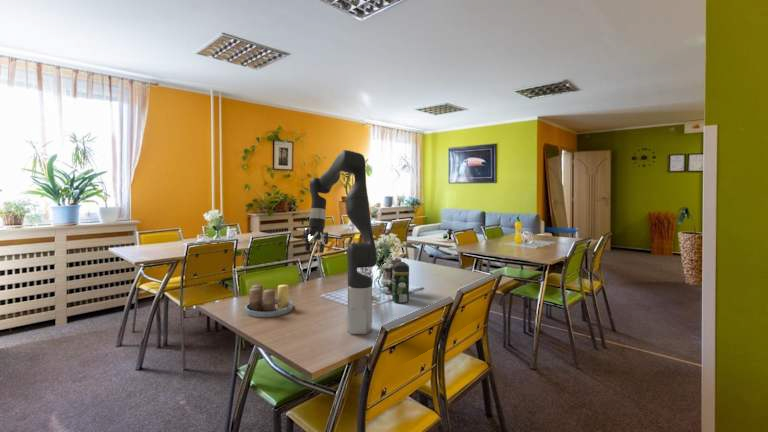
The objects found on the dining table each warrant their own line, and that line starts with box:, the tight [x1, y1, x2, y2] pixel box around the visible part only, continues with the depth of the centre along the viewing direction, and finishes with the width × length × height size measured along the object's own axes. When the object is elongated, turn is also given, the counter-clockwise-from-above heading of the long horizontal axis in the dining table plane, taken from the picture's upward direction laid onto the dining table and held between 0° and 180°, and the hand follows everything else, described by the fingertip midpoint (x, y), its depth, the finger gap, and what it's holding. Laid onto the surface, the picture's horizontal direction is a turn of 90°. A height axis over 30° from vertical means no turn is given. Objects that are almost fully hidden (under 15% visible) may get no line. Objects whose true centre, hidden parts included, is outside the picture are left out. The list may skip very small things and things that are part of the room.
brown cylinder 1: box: [248, 287, 262, 312], centre depth 158 cm, size 5×5×10 cm
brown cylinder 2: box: [263, 288, 276, 312], centre depth 156 cm, size 5×5×10 cm
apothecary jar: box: [380, 257, 403, 295], centre depth 191 cm, size 12×12×18 cm
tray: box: [244, 297, 294, 318], centre depth 162 cm, size 20×20×2 cm
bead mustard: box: [277, 284, 290, 310], centre depth 164 cm, size 5×5×10 cm
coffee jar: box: [391, 261, 410, 304], centre depth 177 cm, size 10×8×19 cm
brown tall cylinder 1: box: [250, 284, 264, 310], centre depth 163 cm, size 5×5×10 cm
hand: (314, 252), depth 176 cm, fingers open, 8 cm apart
